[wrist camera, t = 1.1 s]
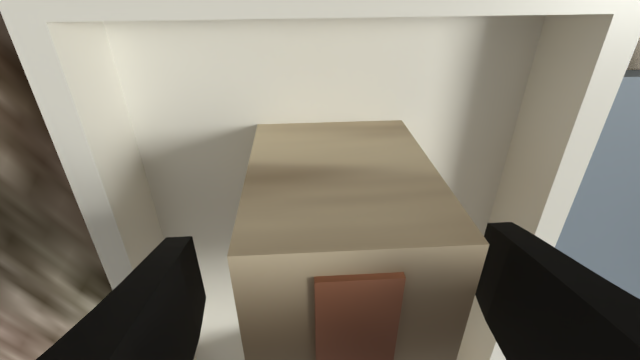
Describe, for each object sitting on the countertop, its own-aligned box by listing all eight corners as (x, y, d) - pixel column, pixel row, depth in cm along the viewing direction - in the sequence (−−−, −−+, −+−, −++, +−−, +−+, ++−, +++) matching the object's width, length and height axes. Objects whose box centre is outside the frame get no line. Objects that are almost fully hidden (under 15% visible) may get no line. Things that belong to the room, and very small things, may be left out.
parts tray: (445, 404, 21) (466, 465, 18) (204, 420, 20) (191, 487, 18) (572, -30, 10) (665, -29, 8) (69, -26, 10) (-15, -24, 7)
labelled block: (389, 233, 14) (449, 400, 8) (268, 239, 14) (252, 413, 8) (401, 120, 12) (493, 250, 6) (257, 124, 11) (225, 263, 6)
